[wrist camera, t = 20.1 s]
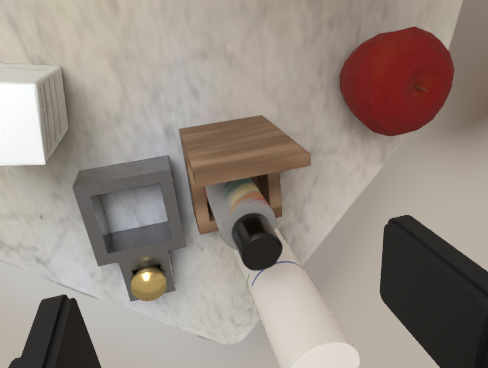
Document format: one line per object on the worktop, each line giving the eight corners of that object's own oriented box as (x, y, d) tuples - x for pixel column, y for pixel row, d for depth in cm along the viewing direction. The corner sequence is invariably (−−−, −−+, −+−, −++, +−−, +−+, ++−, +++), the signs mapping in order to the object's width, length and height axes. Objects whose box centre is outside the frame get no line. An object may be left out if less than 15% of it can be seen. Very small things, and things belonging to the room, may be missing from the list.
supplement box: (0, 129, 43) (-51, 168, 31) (-12, 61, 40) (-72, 77, 28) (70, 130, 44) (46, 167, 33) (64, 65, 42) (35, 81, 30)
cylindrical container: (282, 220, 57) (373, 349, 35) (261, 258, 59) (334, 404, 36) (242, 206, 54) (312, 335, 32) (221, 246, 56) (273, 395, 34)
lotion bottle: (218, 199, 52) (259, 293, 34) (190, 172, 49) (218, 259, 31) (249, 171, 51) (306, 252, 33) (222, 143, 49) (268, 214, 31)
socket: (79, 171, 46) (72, 187, 42) (167, 155, 48) (170, 169, 44) (113, 282, 54) (111, 306, 49) (189, 264, 56) (193, 286, 51)
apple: (360, 133, 54) (421, 165, 42) (304, 85, 49) (356, 106, 37) (416, 64, 52) (497, 77, 40) (364, 6, 47) (438, 2, 35)
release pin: (128, 251, 51) (127, 277, 46) (160, 244, 52) (163, 268, 47) (135, 276, 53) (135, 304, 48) (166, 269, 54) (169, 295, 49)
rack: (178, 129, 47) (194, 175, 33) (261, 115, 49) (310, 153, 35) (193, 212, 53) (213, 283, 38) (268, 197, 55) (313, 259, 40)
